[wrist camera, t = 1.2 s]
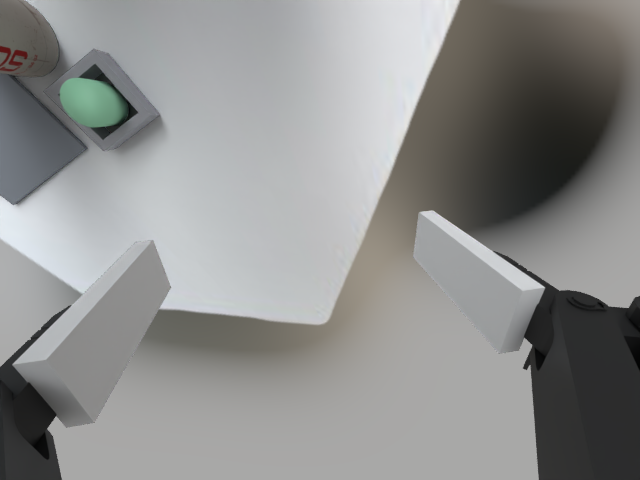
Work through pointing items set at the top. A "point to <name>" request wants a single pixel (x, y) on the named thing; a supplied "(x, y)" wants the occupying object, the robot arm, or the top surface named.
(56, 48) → the thermos bottle
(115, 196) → the top surface
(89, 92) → the button
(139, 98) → the button housing
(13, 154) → the pad
